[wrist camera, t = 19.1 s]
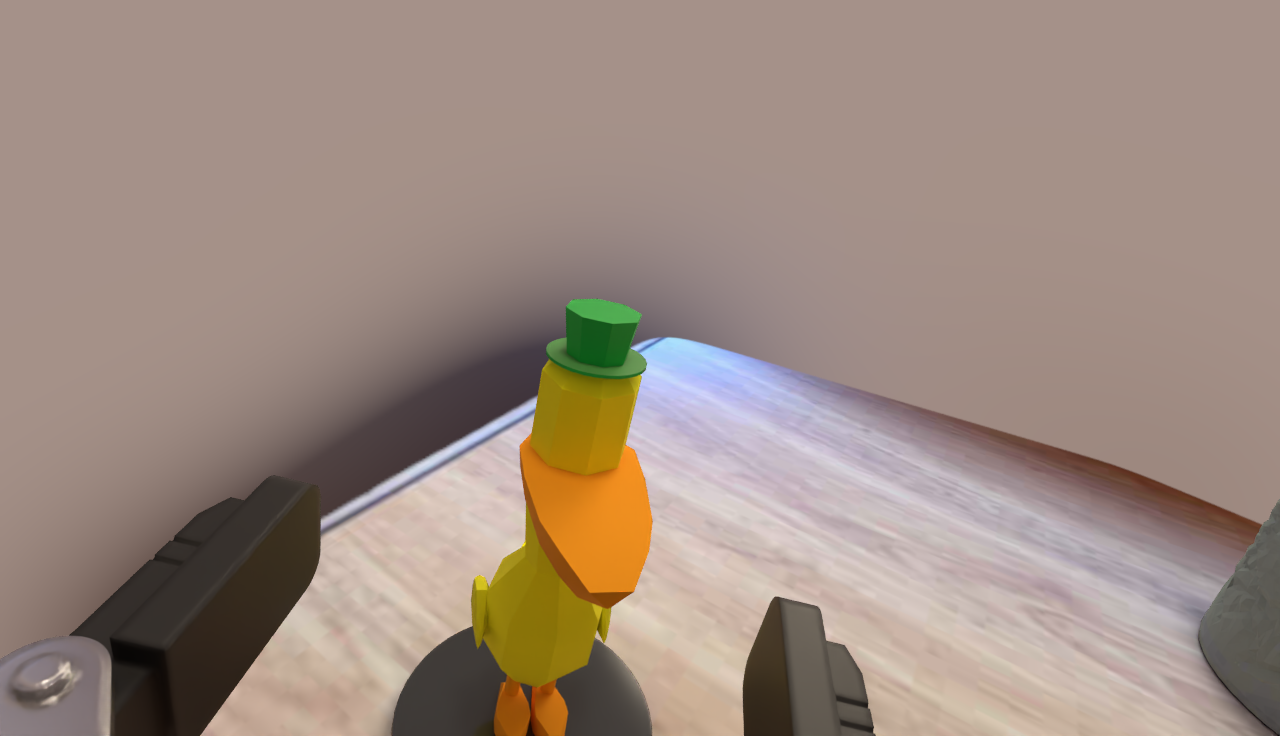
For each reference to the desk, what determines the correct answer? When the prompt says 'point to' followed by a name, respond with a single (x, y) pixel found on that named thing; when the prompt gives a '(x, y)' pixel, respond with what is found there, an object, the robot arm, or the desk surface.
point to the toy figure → (569, 519)
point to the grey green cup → (1250, 627)
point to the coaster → (470, 682)
